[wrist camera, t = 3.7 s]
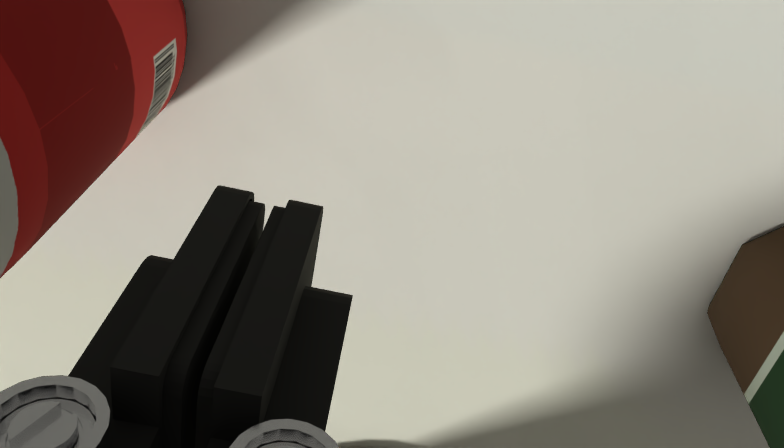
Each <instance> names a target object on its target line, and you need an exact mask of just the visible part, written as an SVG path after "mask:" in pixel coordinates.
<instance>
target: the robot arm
mask: <svg viewBox="0 0 784 448" xmlns="http://www.w3.org/2000/svg"><path fill="white" fill-rule="evenodd" d="M264 215H265V204H263V203H258V202H254V193H253V192H249V191H244V190H240V189H235V188H230V187H225V186H220V185H219V186H217V187H216V189H215V190H214V192H213V194H212V195H211V197H210V199H209V200H208V202H207V204H206V205H205V207H204V209H203V210H202V212H201V214H200V216H199V217H198V219H197V221H196V222H195V224H194V226H193V227H192V229H191V231H190V232H189V234H188V236H187V238H186V239H185V241H184V243H183V244H182V246H181V248H180V249H179V251H178V253H177V254H176V256H175V258H174V259H168V258H163V257H158V256H153V255H151V256H148V257H147V258H146V259H145V260H144V261H143V262H142V264H141V265H140V267H139V268H138V270H137V271H136V273H135V274H134V276H133V277H132V279H131V281H130V282H129V284H128V285H127V287H126V288H125V290H124V291H123V293H122V294H121V296H120V297H119V299H118V300H117V302H116V304H115V305H114V307H113V308H112V310H111V311H110V313H109V314H108V316H107V317H106V319H105V320H104V322H103V323H102V325H101V327H100V328H99V330H98V331H97V333H96V334H95V336H94V337H93V339H92V340H91V342H90V343H89V345H88V346H87V348H86V349H85V351H84V353H83V354H82V356H81V357H80V359H79V360H78V362H77V363H76V365H75V366H74V368H73V369H72V371H71V372H70V374H69V376H63V375H58V376H41V377H37V378H33V379H29V380H25V381H21V382H19V383H17V384H15V385H13V386H11V387H9V388H7V389H5V390H3V391H1V392H0V448H339V447H338V445H337V443H336V441H334V440H333V439H332V438H331V437H330V436H329V435H328V434H327V433H326V432H325V429H326V424H327V419H328V414H329V410H330V405H331V400H332V395H333V390H334V385H335V380H336V375H337V370H338V365H339V360H340V356H341V351H342V346H343V341H344V336H345V331H346V326H347V321H348V316H349V311H350V306H351V301H352V296H353V295H349V294H344V293H339V292H334V291H329V290H324V289H318V288H313V287H311V285H312V279H313V272H314V266H315V260H316V253H317V247H318V241H319V234H320V228H321V222H322V215H323V206H318V205H313V204H308V203H303V202H299V201H294V200H289V201H288V203H287V206H286V208H283V207H278V206H274V207H273V209H272V212H271V214H270V216H269V219H268V221H267V223H266V225H265V228H264V230H263V225H264Z"/></svg>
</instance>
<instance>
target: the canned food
mask: <svg viewBox="0 0 784 448" xmlns="http://www.w3.org/2000/svg"><path fill="white" fill-rule="evenodd" d="M186 41H187V27H186V16H185V9H184V5H183V1H182V0H0V278H1V277H2V276H3V275H4V274H5V273H6V272H7V271H8V270H9V269H10V268H12V267H13V266H14V265H15V264H16V263H17V262H18V261H19V260H20V259H21V258H22V257H23V256H24V255H25V254H26V253H27V252H28V251H29V249H30V248H31V247H32V246H33V245H34V244H35V243H36V242H37V241H38V240H39V239H40V238H41V237H42V236H43V235H44V234H45V233H46V232H47V231H48V230H49V228H50V227H51V226H52V225H53V224H54V223H55V222H56V221H57V220H58V219H59V218H60V217H61V216H62V215H63V214H64V213H65V212H66V211H67V210H68V209H69V207H70V206H71V205H72V204H73V203H74V202H75V201H76V200H77V199H78V198H79V197H80V196H81V195H82V194H83V193H84V192H85V191H86V190H87V189H88V188H89V186H90V185H91V184H92V183H93V182H94V181H95V180H96V179H97V178H98V177H99V176H100V175H101V174H102V173H103V172H104V171H105V170H106V169H107V168H108V166H109V165H110V164H111V163H112V162H113V161H114V160H115V159H116V158H117V157H118V156H119V155H120V154H121V153H122V152H123V151H124V150H125V149H126V148H127V147H128V145H129V144H130V143H131V142H132V141H133V140H134V139H135V138H136V137H137V136H138V135H139V134H140V133H141V132H142V131H143V130H144V129H145V128H146V127H147V126H148V124H149V123H150V122H151V121H152V120H153V119H154V118H155V117H156V116H157V115H158V114H159V113H160V112H161V111H162V110H163V109H164V108H165V107H166V105H167V104H168V102H169V100H170V99H171V97H172V95H173V94H174V92H175V90H176V89H177V86H178V83H179V79H180V76H181V73H182V70H183V67H184V60H185V51H186Z"/></svg>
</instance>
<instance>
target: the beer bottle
mask: <svg viewBox="0 0 784 448" xmlns="http://www.w3.org/2000/svg"><path fill="white" fill-rule="evenodd" d="M707 314H708V316H709V319H710V321H711V324H712V327H713V329H714V332H715V334H716V337H717V339H718V342H719V344H720V347H721V349H722V351H723V353H724V355H725V357H726V359H727V361H728V363H729V365H730V367H731V369H732V371H733V373H734V375H735V377H736V379H737V381H738V383H739V386H740V388H741V390H742V392H743V394H744V396H745V398H746V400H747V402H748V404H749V406H750V408H751V410H752V412H753V414H754V416H755V418H756V420H757V422H758V424H759V426H760V428H761V431H762V433H763V435H764V437H765V439H766V441H767V443H768V445H769V447H770V448H784V227H781V228H779V229H777V230H775V231H772V232H770V233H768V234H766V235H763V236H761V237H759V238H757V239H754V240H752V241H750V242H748V243H745V244H743V245H742V246H741V248H740V250H739V251H738V253H737V255H736V257H735V259H734V261H733V263H732V264H731V266H730V268H729V270H728V272H727V274H726V276H725V277H724V279H723V281H722V283H721V285H720V287H719V288H718V290H717V292H716V294H715V296H714V298H713V300H712V301H711V303H710V305H709V308H708V312H707Z"/></svg>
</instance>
